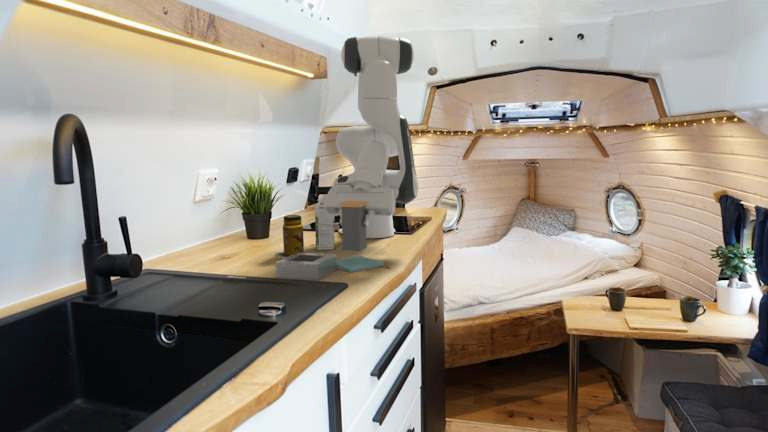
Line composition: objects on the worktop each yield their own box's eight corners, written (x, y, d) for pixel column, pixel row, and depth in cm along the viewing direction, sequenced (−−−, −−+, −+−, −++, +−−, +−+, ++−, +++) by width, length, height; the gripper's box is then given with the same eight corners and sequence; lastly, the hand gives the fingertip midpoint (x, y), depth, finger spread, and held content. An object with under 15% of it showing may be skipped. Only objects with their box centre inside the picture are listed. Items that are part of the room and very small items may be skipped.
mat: (328, 264, 142) (328, 261, 142) (360, 258, 149) (360, 255, 149) (350, 272, 134) (350, 269, 134) (383, 265, 141) (383, 262, 140)
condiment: (307, 256, 153) (305, 216, 151) (278, 259, 150) (276, 218, 148) (302, 251, 160) (301, 213, 158) (275, 254, 157) (273, 215, 155)
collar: (297, 266, 141) (297, 252, 140) (336, 268, 137) (336, 254, 137) (276, 277, 130) (275, 262, 129) (318, 280, 127) (317, 264, 126)
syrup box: (317, 246, 167) (315, 202, 164) (335, 246, 167) (334, 202, 165) (315, 250, 161) (314, 204, 159) (334, 249, 161) (333, 204, 159)
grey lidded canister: (348, 246, 144) (347, 200, 142) (368, 247, 142) (367, 201, 140) (340, 250, 138) (339, 203, 136) (360, 252, 136) (359, 203, 134)
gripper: (402, 193, 145) (392, 233, 138) (336, 192, 152) (323, 230, 144) (397, 179, 141) (387, 219, 133) (329, 178, 147) (315, 216, 139)
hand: (353, 224), depth 138 cm, fingers closed on grey lidded canister, 5 cm apart
